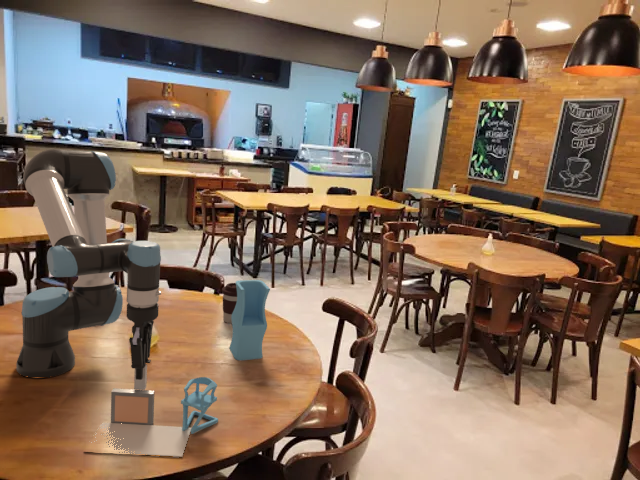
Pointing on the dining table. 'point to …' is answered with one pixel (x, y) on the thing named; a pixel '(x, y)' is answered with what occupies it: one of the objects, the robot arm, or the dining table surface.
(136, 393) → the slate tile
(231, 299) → the coffee cup
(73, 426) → the dining table surface
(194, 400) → the chair
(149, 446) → the mat
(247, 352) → the blue wavy holder
